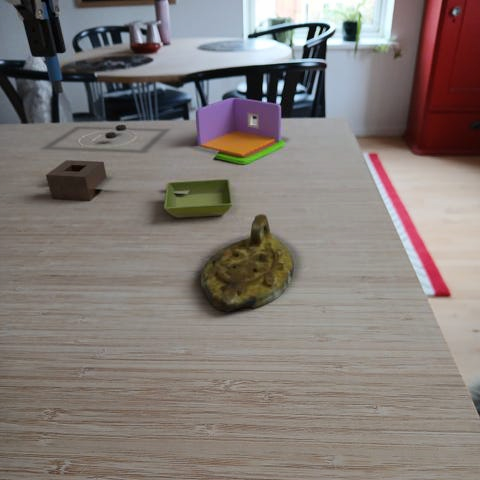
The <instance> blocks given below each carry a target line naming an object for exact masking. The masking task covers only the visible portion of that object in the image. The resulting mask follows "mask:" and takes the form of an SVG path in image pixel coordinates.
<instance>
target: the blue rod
mask: <svg viewBox="0 0 480 480" xmlns="http://www.w3.org/2000/svg"><path fill="white" fill-rule="evenodd" d="M41 3H42V7H43V11H44V19H49V17H48V12H47V8H46V4H45V2H41ZM49 22H50V21H49ZM51 31H52V30H51ZM52 35H53V34H52ZM54 44H55V43H54ZM56 53H57V52H56ZM43 58H44V62H45V66H46V71H47V75H48V78H49V82H52V85H53V90H54V93H55V94H62V93H64V90H63V85H62V81H63V75H62V69H61V66H60V60H59V57H58V53H57V54H56V56H54V57H43Z"/></svg>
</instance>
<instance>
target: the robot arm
mask: <svg viewBox="0 0 480 480" xmlns="http://www.w3.org/2000/svg"><path fill="white" fill-rule="evenodd" d="M3 2H6V3H8V4H10V5H12V6H13V8H14V9H16V11H17V12H16V13H17V16H18V19H19V20H20V21H22V24H23V28H24V32H25V36H26V39H27V44H28V47H29V51H30V54H31V56H32V57H33V58H44V57H54V56H56V54H57V55H58V54H65V53H67V52H66V51H67V48H66V43H65V40H64V34H63V29H62V25H61V22H60V21H61V20H60V17H59V16H60V14H61V11H60V5H59V0H3ZM41 2H45V4H46V8H47V12H48V17H49V19H44V11H43V7H42V3H41ZM49 21H50V22H49ZM51 30H52V31H51ZM52 34H53V35H52ZM54 43H55V44H54ZM56 52H57V53H56Z"/></svg>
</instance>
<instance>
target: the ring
mask: <svg viewBox="0 0 480 480" xmlns="http://www.w3.org/2000/svg"><path fill="white" fill-rule="evenodd" d="M106 131H107V132H108V131H109V132H110V129H103V130H98V131H94V132H90V133H88V134H85V135H82V136H81V137H79V139H78V141H77V144H79V145H80V146H81V147H84V148H85V147H86V148H91V149H92V148H93V149H105V148H113V147H118V146H123V145H126V144H129V143H131V142H134V141H135V140H137V138H138V133H137V132H135V131H133V130H130V129H129V130H128V129H126V130H124V131H125V132H130V133H132V134H134V137H133V138H132V139H131V140H129V141H126V142H123V143H120V144H115V145H109V146H108V145H107V146H90V145H86V144H83V143H81V140H82V139H83V138H85V137H86V136H89V135H92V134H95V133H101V132H106ZM111 131H117V130H116V128H112V129H111ZM101 136H102V134H99V135H98V136H96V137H95V138H93V139H92V140H91V142H94V141H95V140H97V139H98V138H100V137H101Z"/></svg>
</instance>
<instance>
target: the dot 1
mask: <svg viewBox="0 0 480 480" xmlns="http://www.w3.org/2000/svg"><path fill="white" fill-rule="evenodd" d="M104 136H105V139H108V140H111V139H115V138H117V133H116V132H114V131H109V132H106V133H105V134H104Z"/></svg>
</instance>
